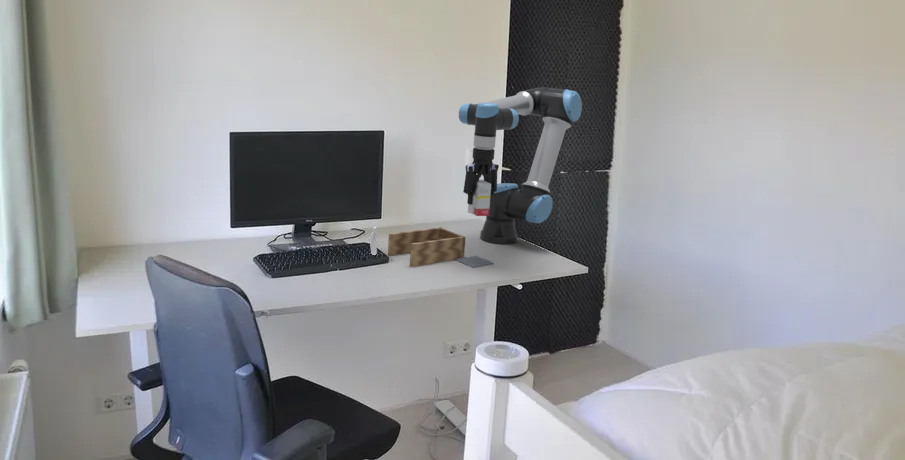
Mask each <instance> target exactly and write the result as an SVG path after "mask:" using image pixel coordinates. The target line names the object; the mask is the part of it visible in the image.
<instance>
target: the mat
mask: <svg viewBox="0 0 905 460" xmlns="http://www.w3.org/2000/svg"><path fill="white" fill-rule="evenodd" d="M454 261H456V262H459V263H461V264H464V265H466V266H468V267H470V268H472V269H473V268H479V267H484V266H491V265H494V262H492V261H490V260H488V259H485V258H483V257H480V256H478V255H470V256H464V258H458V259H455V260H454Z"/></svg>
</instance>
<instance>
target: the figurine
mask: <svg viewBox="0 0 905 460" xmlns="http://www.w3.org/2000/svg"><path fill="white" fill-rule="evenodd" d="M371 231H372V232H371V233H370V236H369V237H367V238H366V240H365V241H364V243H367V241H369V246H370V254H372V255H376V254H377V255H378V249H377V240H376V239H378V240H379V238H380V237H379V233H378V232H377V226H376V225H374V226H372V228H371Z"/></svg>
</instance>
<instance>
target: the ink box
mask: <svg viewBox="0 0 905 460" xmlns="http://www.w3.org/2000/svg"><path fill="white" fill-rule="evenodd" d="M490 193H491V184H490V183H488V182H487V181H484V178H483V179H481V178H479V181H478V182H477V187H476V190H475V193H474V195H475V196H476V200H475V211H474V214H473V215H474V216H476V217H486V216H489V205H490Z"/></svg>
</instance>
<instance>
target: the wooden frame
mask: <svg viewBox="0 0 905 460" xmlns="http://www.w3.org/2000/svg"><path fill="white" fill-rule="evenodd" d="M387 241H388V244H387V245H388V246H387V256H389V257H391V256H398V255H404V254H409V266H410V267H416V266H422V265H429V264H436V263H442V262H448V261H453V260H454V261H456V260H455V259H458V258H464V257H465V247H466V236H463V235H461V234H458V233H456V232H453V231H450V230H449V229H446V228H443V227H441V226H440V227H432V228H425V229H417V230H410V231H409V230H407V231H402V232H393V233H388V239H387Z"/></svg>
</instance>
